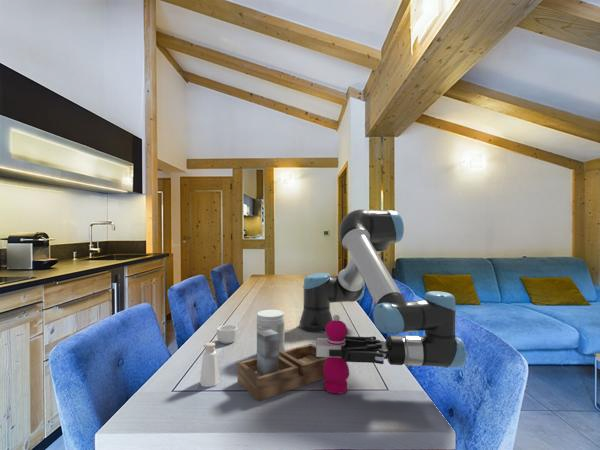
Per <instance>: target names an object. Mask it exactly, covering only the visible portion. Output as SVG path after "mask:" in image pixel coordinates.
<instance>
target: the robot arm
mask: <svg viewBox="0 0 600 450" xmlns="http://www.w3.org/2000/svg"><path fill="white" fill-rule="evenodd" d="M404 229H405V227H404V221H403V218H402V216H401V215H400V214H399V212H398V211H396V210H389V209H386V210H385V209H378V210H377V209H356V210H355V209H354V210H353V211H350V212H349V213H348V214H346V215H345V216H344V217H343V219H342V221H341V222H340V225H339V230H338V235H339V240H340V242H341V245H342V247H343V249H344V250H346V251H348V252H349V254H350V256H351V257H350V260H349V261H348V263H347V265H346V267H345V268H343V269H342V270H340V271H339V272H338V274H337V275H331V274H330V273H328V272H317V273H316V272H315V273H311V274H308V275H306V276H305V277H304V279H303V285H302V286H303V309H302V313H301V316H300V319H299V326H298V327H299V328H300V330H302V331H305V332H310V333H311V332H312V333H324V332H325V328H326V325H327V324H328V322H330V321H332V320H333V317H332V313H331V307H330V306H331V303H345V302H346V303H347V302H349V303H352V302H358V301H360V300H362V298H363V297H364V294H365V290H366V288H367V290H368V292H369V294H370V296H371V298H372V300H373V302H374V305H375V306H374V308H373V312H372V318H373V319H374V322H373V323H374V326H375V327H376V329H377V330H378V331H379V332H380V333H382V334H389V335H387V337H386V340H385V341H384V340H381V339H377V337H376V336H375V335H374V336H354V335H353V336H351V335H346V336H345V337H344V338H345V345H344V346H343V345H342V350H341V346H329V345H328V344H327V338H328V337H326V338H322V337H320V338H319V337H317V338H316V345H315V346H316V357H339V358H342V359H344V361H345V362H347V363H370V364H377V365H378V364H379V365H384V363H385V362H384V361H385V360H386V359H387V362H388V364H389V365H390V366H403V365H406V366H412V368H415V367H417V366H418V367H419V366H420V367H421V366H422V367H440V368H441V367H442V368H461V367H463V366H464V365H465V363H466V361H467V350H466V345H465V343H464V341H463V339H462V338H460V337H456V336H457V335H456V319H457V318H456V317H457V314H456V313H457V308H456V306H457V305H456V299H455V296H454V295H453V294H452V293H449V292H445V291H438V290H436V291H434V290H432V291H431V290H430V291H428V292H427V291H426V293H425V294H424V299H423V300H415V301H414V300H413V301H412V300H411V301H407V300H406V299H405V297H404V296H403V294H402V292H401V291H400V289H399V287H398V285H397V284H396V282H395V281H394V279H393V277H392V276H391V274H390V272H389V271H388V269H387V267H386V265H385V264H384V261H383V260H382V259H381V256H380V255H379V254H380V253H381V252H384V251H386V250H388V249H389V247H390V245H391V244H392V243H394V244H396V243H400V242H401V241H402V239H403V237H404V232H405V230H404ZM422 331H423V332H424V334H425V335H403V336H401V335H398V334H402V333H409V332H422ZM325 333H326V332H325ZM392 334H393V335H392ZM396 334H397V335H396Z"/></svg>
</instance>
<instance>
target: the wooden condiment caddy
mask: <svg viewBox="0 0 600 450" xmlns="http://www.w3.org/2000/svg"><path fill="white" fill-rule="evenodd" d="M316 346H317V345H315V344H313V343H309V344H303V345H302V346H298V347H293V348H289V349H286V350H285V351H281V352H279V333H277V332H275V331H273V330H271V329H270V330H265V331H260V332H257V331H256V357H253V358H250V359H246V360H243V361H238V362H237V383H238V384H239V385H240V386H241V387H242V388H244V389H245V391H247V392H248V393H249V395H251V396H252V397H253V398H254V399H255V400H257V401H258V402H260V401H262V400H265V399H268V398H272V397H274V396H277V395H280V394H284V393H286V392H288V391H291V390H294V389H298V388H300V386H301V387H304V386H306V385H308V383H309V384H312V383H314V381H315V382H318V381H320V379H321V380H323V378H324V379H325V377H324V376H323V367H324V363H325V361H326V359H327V357H316ZM317 380H318V381H317ZM303 385H304V386H303ZM297 387H298V388H297Z"/></svg>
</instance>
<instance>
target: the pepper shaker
mask: <svg viewBox="0 0 600 450" xmlns="http://www.w3.org/2000/svg"><path fill="white" fill-rule="evenodd" d="M215 346H216V343H215V342H212V341H211V342H206V343H205V344H204V350H205V351H204V352H203V354H202V361H201V368H200V369H201V370H200V380H199V383H200V385H201V387H205V388H210V387H211V388H212V387H216V385H218V384H219V383H220V375H219V374H220V372H219V362H218V354H217V351H216V347H215Z"/></svg>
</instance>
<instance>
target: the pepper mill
mask: <svg viewBox="0 0 600 450" xmlns="http://www.w3.org/2000/svg"><path fill="white" fill-rule="evenodd" d="M332 319H333V320H332V321H330V322H328V324H327V325H326V328H325V334H326V336H327V337H326V338H327V344H328V345H329V346H341V350H342V345H343V346H344V345H345V338H344V337H345V336H348V327H347V325H346V323H345V322H343V321H342V320H341V319H340V316H339V315H338V314H334V315H333V317H332ZM323 376H324V377H325V378H324V382H323V383H324V385H323V386H324V389H325V391H326V392H328V393H331V394H343V393H345V392H347V390H348V381H347V380H348V379H349V377H350V369H349V364H348V362H345V361H344V359H342V358H339V357H327V359H326V361H325V363H324V367H323Z"/></svg>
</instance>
